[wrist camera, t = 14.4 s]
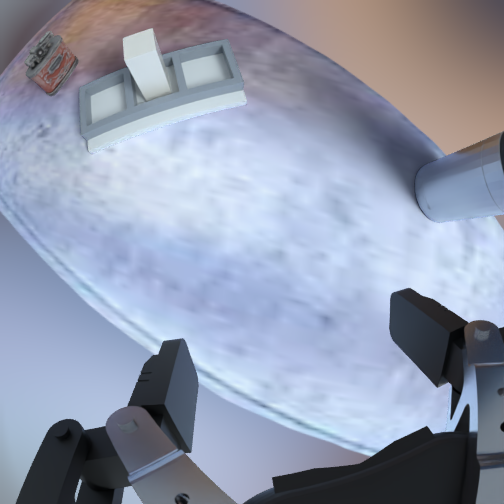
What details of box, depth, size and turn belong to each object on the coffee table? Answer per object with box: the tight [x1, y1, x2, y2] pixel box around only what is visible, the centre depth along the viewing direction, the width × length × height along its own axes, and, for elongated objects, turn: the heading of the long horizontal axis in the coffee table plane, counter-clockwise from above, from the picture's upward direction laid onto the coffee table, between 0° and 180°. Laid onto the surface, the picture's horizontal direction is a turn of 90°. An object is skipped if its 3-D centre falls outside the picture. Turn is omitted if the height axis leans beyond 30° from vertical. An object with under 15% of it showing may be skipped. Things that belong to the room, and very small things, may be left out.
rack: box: [79, 39, 247, 154], centre depth 32 cm, size 22×12×3 cm, turn 106°
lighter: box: [24, 31, 79, 96], centre depth 27 cm, size 8×3×10 cm, turn 155°
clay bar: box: [123, 28, 172, 102], centre depth 27 cm, size 4×4×10 cm
